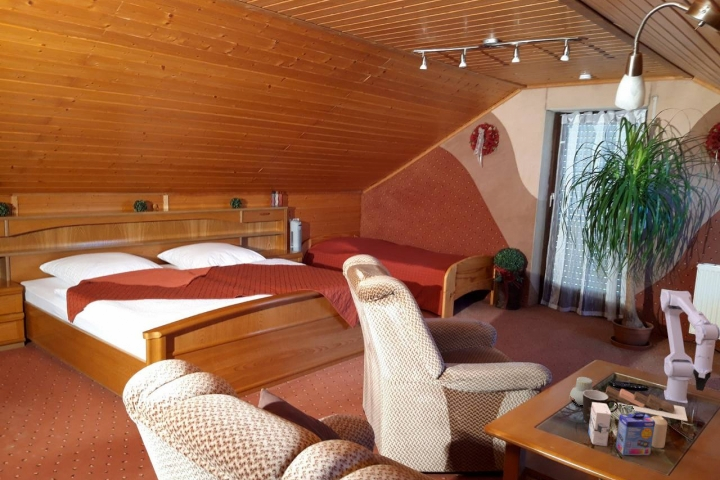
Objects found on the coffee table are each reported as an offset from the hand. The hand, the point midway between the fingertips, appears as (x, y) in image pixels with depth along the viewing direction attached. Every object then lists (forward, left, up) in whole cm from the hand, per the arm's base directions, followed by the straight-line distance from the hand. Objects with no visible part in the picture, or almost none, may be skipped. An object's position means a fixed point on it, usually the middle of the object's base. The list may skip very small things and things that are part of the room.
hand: (699, 389), depth 217 cm
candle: (+32, -15, -11) cm, 37 cm away
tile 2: (+1, -13, -9) cm, 16 cm away
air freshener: (+10, -40, -11) cm, 43 cm away
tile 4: (+1, -23, -9) cm, 25 cm away
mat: (+1, -16, -10) cm, 19 cm away
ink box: (+38, -33, -11) cm, 51 cm away
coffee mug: (+24, -34, -11) cm, 43 cm away
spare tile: (+1, -18, -9) cm, 20 cm away
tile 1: (+1, -8, -9) cm, 12 cm away
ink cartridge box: (+41, -22, -11) cm, 48 cm away
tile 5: (+1, -28, -9) cm, 30 cm away
